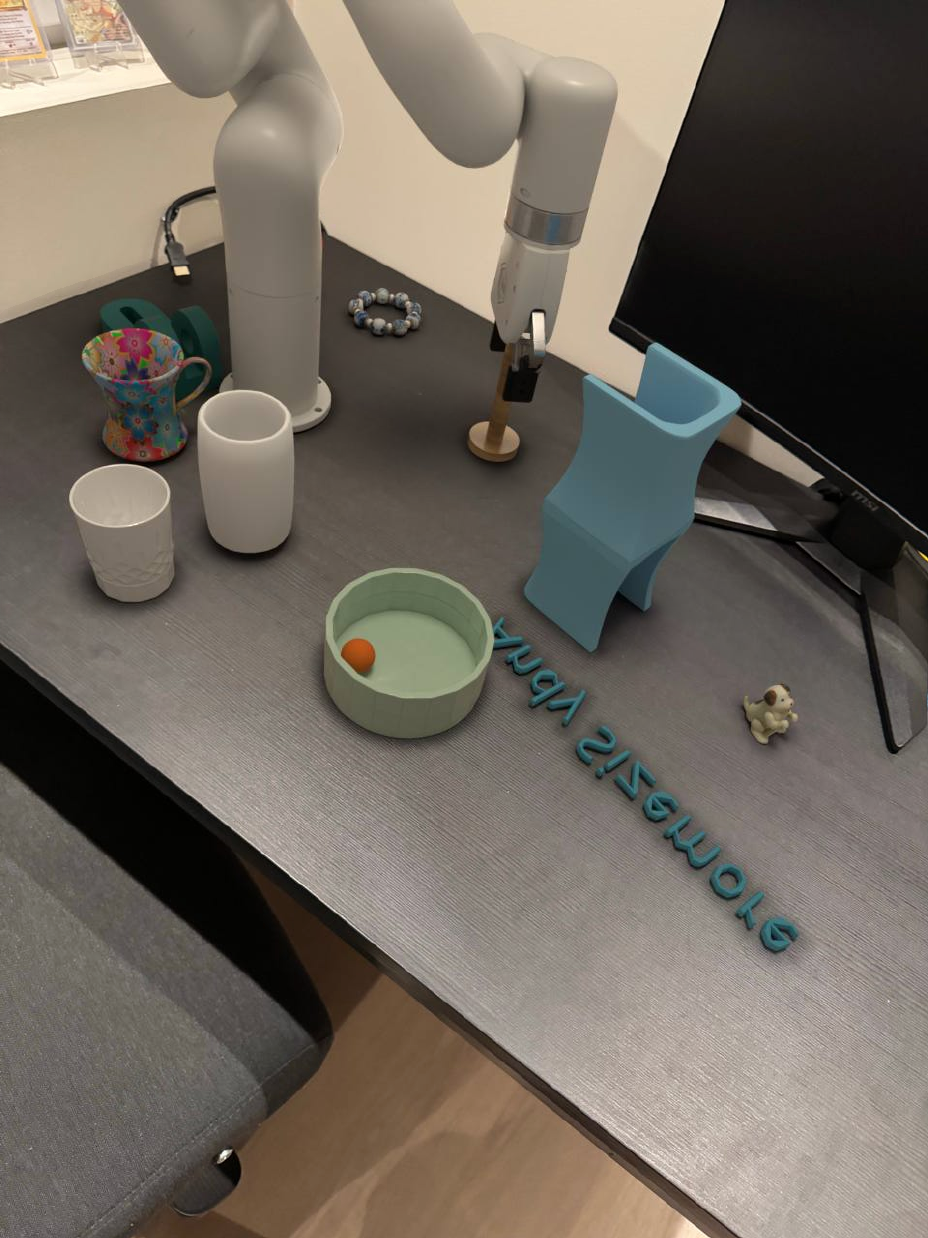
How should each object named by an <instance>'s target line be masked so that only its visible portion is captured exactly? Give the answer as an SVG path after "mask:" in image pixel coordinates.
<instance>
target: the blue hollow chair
mask: <svg viewBox="0 0 928 1238" xmlns="http://www.w3.org/2000/svg"><path fill="white" fill-rule="evenodd" d="M582 395H583V419H582V428H581V429H582V431H581V435H580V440H579V445H578V448H577V450H576V453H575V455H574V457H573V459H572V461H571V463H570V464H569V466H568V468H567V469H566V471H565V473H564V474H563V475H562V477H561V478H560V479H559V481H558V482H557V483H556V484H555V485H554V487H553V488H552V489H551V490H550V491H549V492H548V494H547V495H546V496H545V497H544V499H543V502H542V506H541V518H542V519H541V520H542V538H541V539H542V541H541V542H542V544H541V550H540V555H539V559H538V562H537V564H536V567H535V569H534V571H533V572H532V574H531V575H530V578H529V579H528V581H527V583H526V584H525V586H524V587H523V593H524V597H525V598H526V599H527V600H528V602H529V603H530V604H531V605H533V607H535V608H536V609H537V610H538V611H539V612H540V613H542V614H543V615H544V616H546V618H548V619H549V620H550V621H551V622H553V623H554V624H555V625H556V626H557V627H558V628H560V629H561V630H562V631H563V632H565V633H566V634H567V635H568V636H569V637H571V638H572V639H573V640H574V641H575V642H576V643H578V644H579V645H580V646H582V648H584V649H585V650H586V651H587V652H588V653H592V652H593V651H595V650H597V648H598V645H599V641H600V637H601V634H602V631H603V630H602V629H603V627H604V623H605V620H606V617H607V613H608V611H609V609H610V606H611V604H612V601H613V599H614V597H615V596H616V594H617V592H619V593H620V594H621V595H622V596H623V597H625V598H626V599H627V600H628V601H630V602H631V603H633V604H634V605H635V606H636V607H638V609H640V610H641V611H643V612H645V611H647V610H648V609H649V608H651V605H652V595H653V590H654V589H653V587H654V584H655V580H656V576H657V575H658V571H659V569H660V567H661V565H662V563H663V562H664V561H665V558H666V557H667V556H668V554H669V553H670V551H671V550H672V549H673V548H674V546H675V545H676V543H678V542H679V540H680V539H681V538H682V537H683V535H685V533H686V532H687V531H688V530H689V529H690V527H691V526H692V523H693V522H694V520H695V501H696V489H697V488H696V487H697V481H698V477H699V473H700V470H701V466H702V463H703V461H704V460H705V458H706V455H707V454H708V452H709V451H710V449H711V447H712V446H713V444H714V443H715V441H716V440H717V438H718V437H719V436H720V435H721V433H722V431H723V430H724V429H725V428H726V426H727V425H728V424H729V423H730V421H731V420H732V419H733V417H735V415H736V414H737V412H738V411H739V410H740V409H741V406H742V400H741V398H740V396H739V394H738V393H737V392H736V391H734V390H733V389H731V388H730V387H729V386H727V385H725V384H724V383H723V382H722V381H719V380H718V379H716V378H715V377H713V376H712V375H711V374H708V373H706V372H705V371H703V370H701V369H700V368H699V367H697V366H695V365H694V364H692V363H690V362H689V361H688V360H685V359H684V358H682V357H681V356H679V355H678V354H677V353H674V352H673V351H671V350H670V349H668V348H666V347H665V346H663V345H662V344H661V343H658V342H654V343H652V344H650V345H648V346H647V350H646V353H645V357H644V361H643V365H642V370H641V375H640V379H639V383H638V387H637V391H636V394H635V398H634V401H632V400H631V399H629V398H628V397H626V396H625V395H624V394H622V393H620V392H619V391H617V390H616V389H614V388H612V386H610V385H608V384H607V383H605V382H604V381H602V380H601V379H599V378H598V377H596V376H595V375H594V374H592V373H589V374H587V375H585V376H583V377H582Z"/></svg>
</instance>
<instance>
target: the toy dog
mask: <svg viewBox="0 0 928 1238" xmlns="http://www.w3.org/2000/svg"><path fill="white" fill-rule="evenodd" d="M742 703H743V708H744V710H745V712H746V715H745V716H746V718H747V720H748V721H749V722H750V723H751V724H750V725H751V726H750V732H751V734H752V735H753V737H754V738H755V740H756V741H757V742H758V743H760V744H762V745H767V744H768V743H769V737H770V736H772V735H773V734H776V733H778V734H785V733H786V731H787V729H788V728H789V726H790V725H789V724H790V723H789V721H788V720H787V719H791V721H792V723H797V722H798V720H799V716H798V714H797V713H794V712H792V708H793V706H794V704H795V703H794V699H793V697H792V693H791V688H790V687H789V686H788V685H787V684H786V683H779V684H774V685H771V686H769V687H768V688H767V689H766V691H765V692H764V694H763V699H759V700H757V701H754V702H752V703H751V704H750V702H749V696H748V695H745V696H744V697H743V702H742ZM786 718H787V719H786Z"/></svg>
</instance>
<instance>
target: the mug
mask: <svg viewBox="0 0 928 1238" xmlns="http://www.w3.org/2000/svg"><path fill="white" fill-rule="evenodd" d="M81 360H82V363H83V366H84V367H85V369H86V370H87V371H88V372H89V374H90V375H91V376H92V377H93V379H94V381H95V382H96V384H97V386H98V388H99V389H100V392H101V394H102V396H103V398H104V399H103V400H104V404H105V409H106V422H105V425H104V427H103V430H102V441H103V443H104V445H105V447H107V449H108V450H109V451H110V452H111V453H113V454H114V455H115V456H118V457H119V458H122V459H124V460H127V461H132V462H144V463H145V462H147V463H149V462H157V461H160V460H165V459H168V458H170V457H172V456H174V455H175V454H177V453H178V452H180V451H181V450H182V449H183V447H184V446H185V445H186V443H187V440H188V437H189V433H188V429H187V426H186V424H185V423H184V421H183V420H182V419H181V417H180V415H179V413H180V414H182V415H185V414H186V410H185V408H183V407H185V406H187V405H188V404H189V403H191V402H193V401H194V400H195V399H196V398H197V397H198V396H200V394H202V393H203V392H202V391H203V390H204V388H205V387H206V385H207V384H208V382H209V380H210V377H211V367H210V364H209V363H208V362H207V361H206V360H205V359H203V358H200V357H191V358H188V359H186V360H184V354H183V351H182V349H181V347H180V346H179V344H178V343H177V342H175V341H174V340H173V339H171V338H170V337H168V336H166V335H164V334H161V333H159V332H155V331H151V330H146V329H119V330H114V331H110V332H106V333H104V332H103V333H101V334H99V335H97V336H95V337H94V338H92V339H91V340H90V341H89V342H87V344H85V346H84V348H83V350H82V353H81ZM192 363H202V364H204V365H205V366H206V367H207V372H206V375H205V378H204V380H203V381H202V383H201V384H200V386H199V387H198V388H197V389H196V390H195V391H194V392H193V393H192V394H190V395H189V396H188V397H185V398H182V399H180V401H178V402H177V403H176V401H175V386H176V381H177V380H178V379H179V375H180V373H181V371H182V370H183V369H184V368H185V367H186V366H187V365H189V364H192ZM178 412H179V413H178Z"/></svg>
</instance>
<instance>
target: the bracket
mask: <svg viewBox="0 0 928 1238" xmlns="http://www.w3.org/2000/svg"><path fill="white" fill-rule="evenodd" d="M99 316H100V320H101V326H102V333H103V334H104V333H106V332H110V331H114V330H119V329H146V330H151V331H155V332H159V333H161V334H164V335H166V336H168V337H170V338H171V339H173V340H174V341H175V342H177V343H178V344H179V346H180V347H181V349H182V351H183V354H184V360H186V359H188V358H191V357H200V358H203V359H205V360H206V361H207V362H208V363H209V364H210V367H211V377H210V380H209V382H208V384H207V385H206V387H205V388H204V390H203V391H202V392H201V393H203V392H208V391H211V390H213V389H216V388H220V385H221V383H222V382H223V380H224V378H223V377H224V376H223V362H222V361H223V360H222V349H221V342H220V338H219V335H218V332H217V330H216V327H215V325H214V323H213V321H212V318H210V316H209V315H208V313H207V312H206V311H205V310H204V309H203V308H202V307H201V306H199V305H192V306H188V307H184V308H180V309H177V310H174V311H173V312H172V314H171V319H170V318H169V317H168V316H167V315H166V313H164V312H163V311H162V310H161V309H160V308H159V307H158V306H157V305H155V304H154V303H152V302H150V301H147V300H144V299H139V298H120V299H116V300H112V301H110V302H108V303H106V304H104V305H103V306H102V307H101V309H100V311H99ZM206 372H207V367H206V366H205V365H204V364H202V363H192V364H189V365H187V366H186V367H185V368H184V369H183V370H182V371H181V373H180V375H179V379H178V380H177V381H176V386H175V402H176V401H178V400H183V399H185V398H186V397H188V396H189V395H190V394H192V393H193V392H194V391H195V390H196V389H197V388H198V387H199V386H200V384H201V383H202V381H203V380H204V378H205V375H206Z"/></svg>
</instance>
